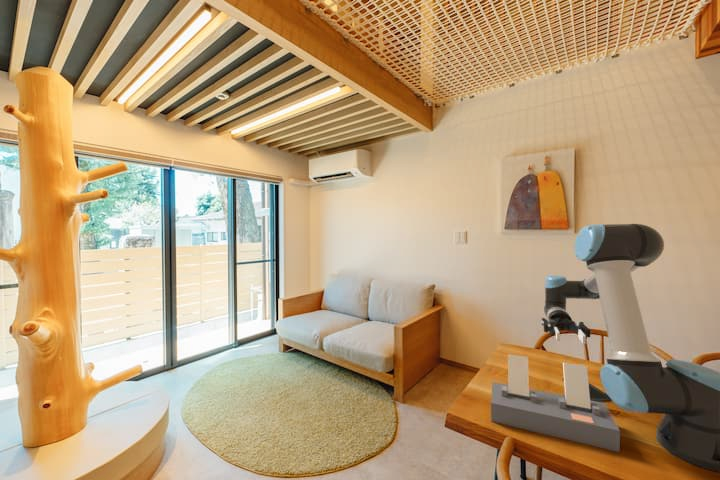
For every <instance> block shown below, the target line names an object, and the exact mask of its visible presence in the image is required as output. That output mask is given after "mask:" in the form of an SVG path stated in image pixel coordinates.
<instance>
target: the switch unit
mask: <svg viewBox="0 0 720 480" xmlns="http://www.w3.org/2000/svg"><path fill="white" fill-rule="evenodd" d="M490 401H491V402H490V416H491V417H490V421H491V422H493V423H496V424H501V425H505V426H509V427H513V428H517V429H522V430H526V431H529V432H534V433H539V434H543V435H547V436H552V437H555V438H559V439H564V440H568V441H572V442H575V443H580V444H584V445H589V446H592V447H595V448H601V449H605V450H609V451H613V452H616V453H620V452H621V451H620V450H621V448H620V447H621V430H620V429H619V427H618V424H617V423H616V421H615V419H614V418H613V416H612V415H611V413H610V411H609V409H608V407H607V406H606V404H605V402H603V401H600V402H597V401H591V400H590V405H591V409H589V408H584V407H579V406H574V405H569V404H566V402H565V394H559V393H553V392H548V391H544V390H538V389H532V388H529V397H528V396H523V395H518V394H513V393H508V384H507V383H506V384H505V383H501V382H496V381H492V384H491V400H490Z"/></svg>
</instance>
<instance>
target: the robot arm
mask: <svg viewBox="0 0 720 480" xmlns="http://www.w3.org/2000/svg"><path fill="white" fill-rule="evenodd" d="M664 242H665V241H664V238H663V237H662V235H661V233H660V232H659V231H658V230H657V229H654V228H653V227H651V226H648V225H645V224H641V223H626V224H625V223H624V224H623V223H622V224H621V223H618V224H617V223H615V224H602V223H599V224H590V225H585V226H584V227H583V228H581V230H579V232H578V233H577V235H576V238H575V241H574V253H575V256H576V257H577V259H578V260H580V261H582V262H586V267H587V269H588V270H589V271H591V272H592V273H590V274H589V275H588V276H586V278H584V279H583V280H567V278H566V276H562V275H548V276H546V277H545V285H544V287H545V288H544V292H545V293H544V294H545V295H544V296H545V301H544V302H545V303H544V308H543V312H544V314H545V316H546V318H545V317H541V325H542V326H543V332H544V333H549V335H550V336H554V337H555V340H556V341H557V342H560V339H561V338H560V337H561V333H560V331H561V332H562V331H569V332H572V333H574V334H575V335H577V336H578V337H577V338H578V339H579V341H580V342H581V343H582V344H583V345H586V342H587V341H586V340H587V339H588V338H591V329H590V328H589V327H587V326H586V325H585V323H584V322H583V321H579V322H575V321H574V320H573V318H572V317H571V316H570V314H569V313H568V312H567V299H579V300H580V299H583V300H586V299H587V300H588V299H589V300H598V299H599V300H600V306H601V309H602V313H603V318H604V323H605V328H606V332H607V337H608V343H609V346H610V351H611V352H610V353H609V354H608V355H607V356H606V362H607V363H606V364H605V365H602V367H601V368H600V372H599V373H600V374H599V376H600V381H601V384H602V387H603V390H604V391H605V393H606V394H607V395H608V396H609V397H610V398H611V400H612V402H613V403H614V404H615V405H616V406H617V407H619V408H620V409H623V411H624V410H625V411H627V412H633V413H634V412H635V413H640V414H647V413H648V414H660V415H663V414H664V415H663V417H662V418H661V420H660V422H659V423H658V426H657V427H656V438H655V439H656V440H657V442H658V443H659V444H660V445H661V447H663V448H664V449H665V450H667V451H668V452H669V453H670V454H672V455H674V456H675V457H678V458H680V459H681V460H683V461H686V462H687V463H689V464H692V465H694V466H697V467H700V468H702V469H706V470H709V471H713V472H718V473H720V372H719V371H717V370H715V369H713V368H710V367H707V366H705V365H701V364H698V363H695V362H692V361H687V360H681V359H675V358H672V359H668V360H667V361H666V363H665V366H666V367H665V366H664V367H663V364H662V360H661V359H660V358H658V357H656V356H655V355H654V354H653V353H652V351H651V347H650V344H649V343H650V342H649V339H648V336H647V332H646V327H645V324H644V320H643V316H642V313H641V312H642V311H641V309H640V305H639V300H638V297H637V293H636V289H635V285H634V281H633V277H632V272H634V271H636V270H637V269H638V268H645V267H647V266H649V265H651V264H652V263H654V262H655V261H656V260H658V259H659V258H660V257H661V256H662V253H663V252H664V249H665V243H664Z"/></svg>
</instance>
